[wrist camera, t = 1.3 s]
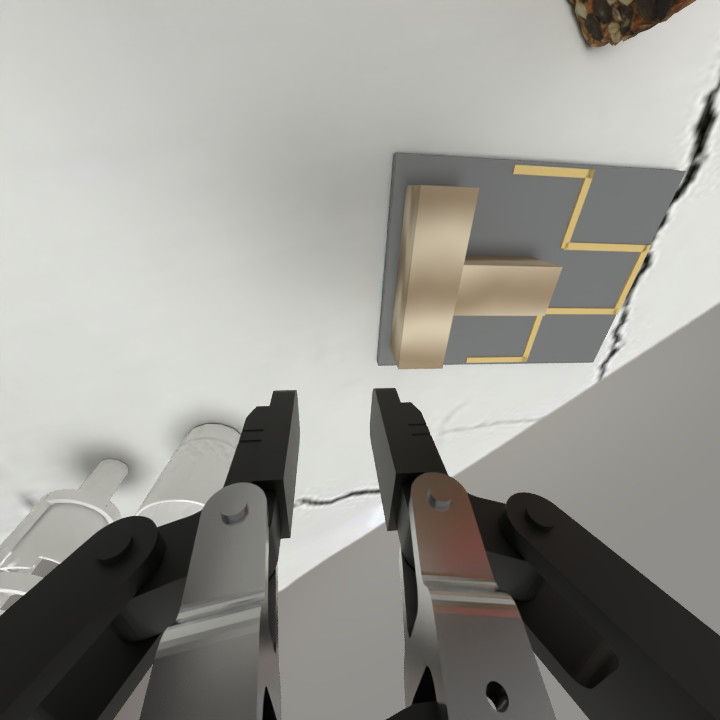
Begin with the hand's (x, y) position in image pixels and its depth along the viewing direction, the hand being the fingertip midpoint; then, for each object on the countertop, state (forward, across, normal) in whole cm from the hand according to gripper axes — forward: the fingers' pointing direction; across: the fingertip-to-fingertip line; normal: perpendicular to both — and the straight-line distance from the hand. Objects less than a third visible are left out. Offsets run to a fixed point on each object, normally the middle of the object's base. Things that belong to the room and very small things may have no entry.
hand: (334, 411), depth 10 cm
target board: (+19, -17, 0) cm, 26 cm away
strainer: (+19, +25, +23) cm, 39 cm away
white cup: (+19, +13, +20) cm, 31 cm away
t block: (+18, -12, 0) cm, 22 cm away
